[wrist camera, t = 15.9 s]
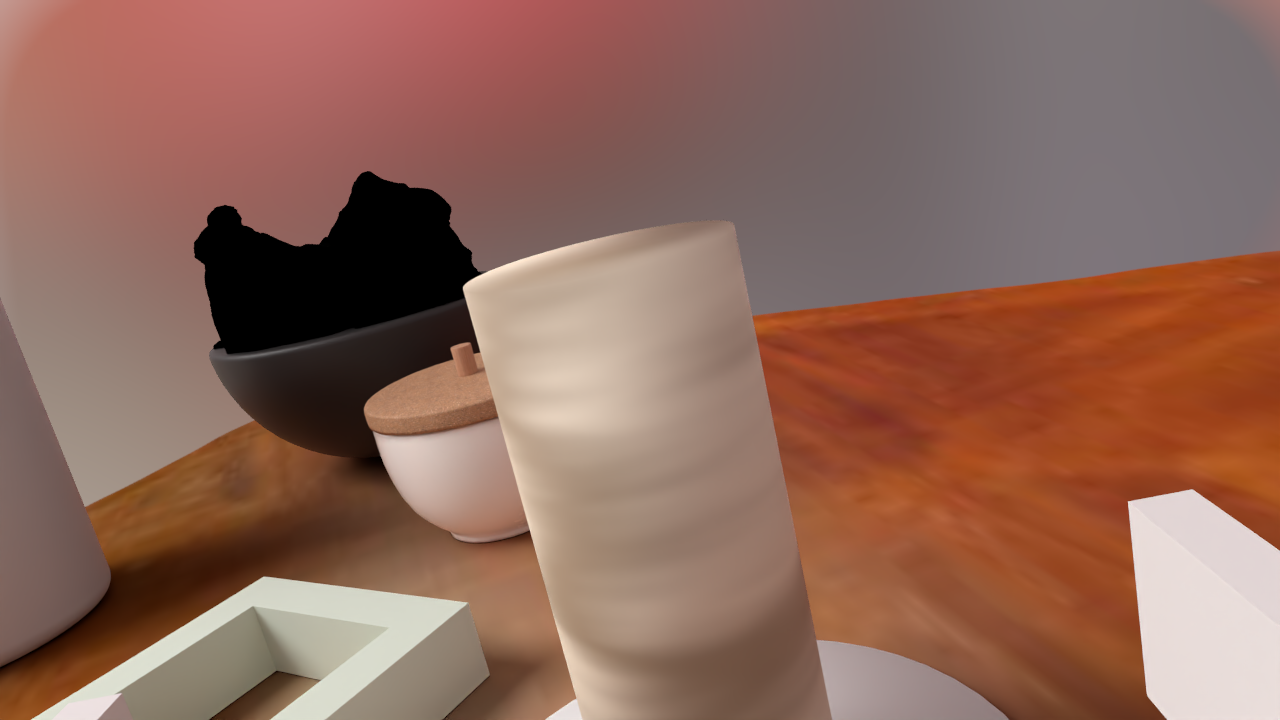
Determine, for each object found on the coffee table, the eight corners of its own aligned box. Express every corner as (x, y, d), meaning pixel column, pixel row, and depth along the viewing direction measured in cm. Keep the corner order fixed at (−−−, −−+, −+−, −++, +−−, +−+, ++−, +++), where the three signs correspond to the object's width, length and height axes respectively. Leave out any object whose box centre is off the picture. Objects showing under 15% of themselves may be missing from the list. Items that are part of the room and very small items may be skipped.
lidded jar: (587, 455, 54) (549, 303, 52) (627, 522, 44) (581, 335, 42) (407, 509, 52) (359, 353, 50) (405, 591, 42) (344, 400, 40)
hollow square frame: (490, 674, 34) (468, 602, 33) (198, 948, 24) (158, 855, 23) (286, 637, 40) (264, 576, 40) (-7, 840, 31) (-43, 765, 30)
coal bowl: (577, 381, 71) (516, 137, 67) (479, 490, 53) (385, 162, 48) (353, 415, 77) (283, 192, 72) (193, 525, 58) (84, 234, 54)
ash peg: (881, 763, 24) (778, 207, 21) (797, 953, 20) (644, 275, 16) (686, 725, 28) (568, 240, 24) (574, 880, 23) (405, 304, 19)
